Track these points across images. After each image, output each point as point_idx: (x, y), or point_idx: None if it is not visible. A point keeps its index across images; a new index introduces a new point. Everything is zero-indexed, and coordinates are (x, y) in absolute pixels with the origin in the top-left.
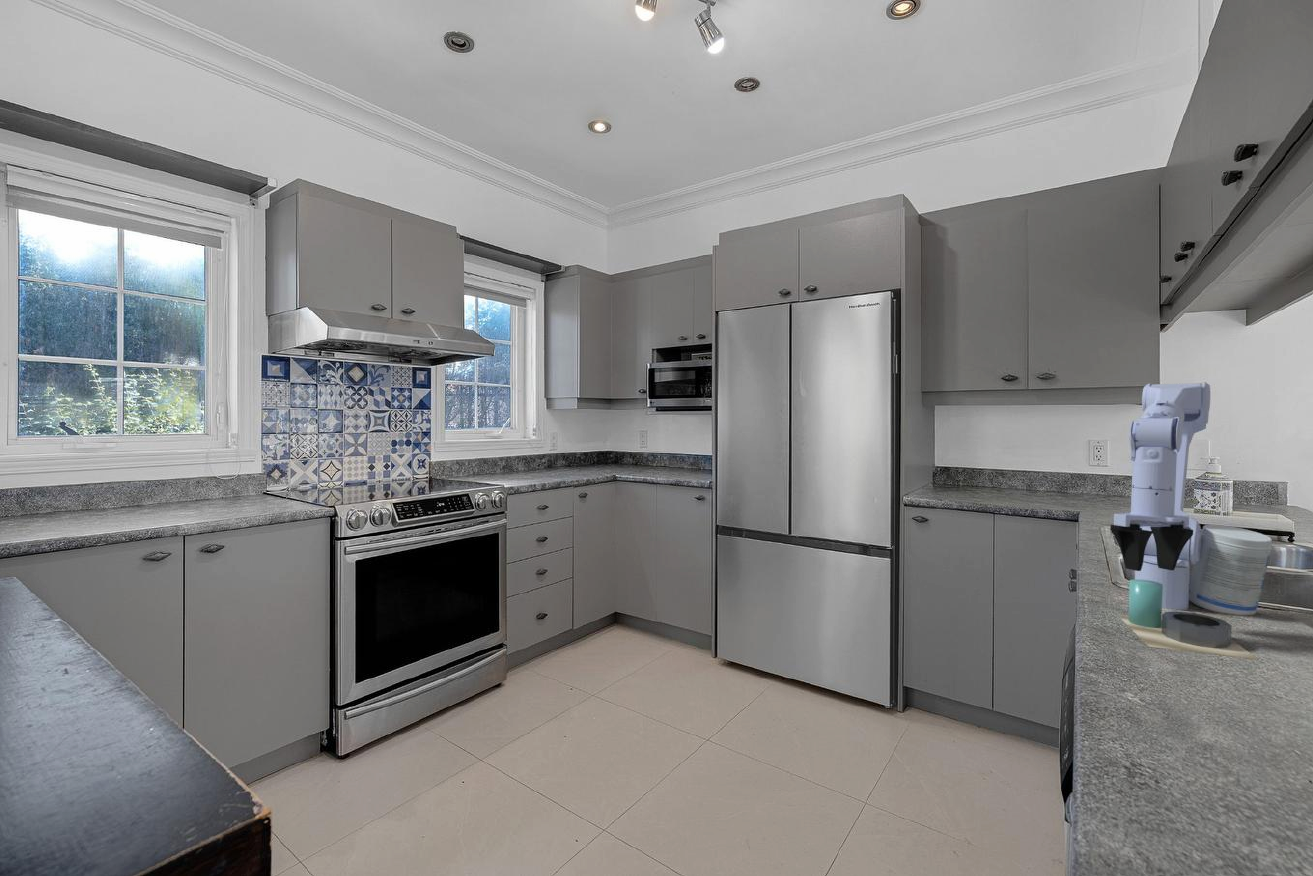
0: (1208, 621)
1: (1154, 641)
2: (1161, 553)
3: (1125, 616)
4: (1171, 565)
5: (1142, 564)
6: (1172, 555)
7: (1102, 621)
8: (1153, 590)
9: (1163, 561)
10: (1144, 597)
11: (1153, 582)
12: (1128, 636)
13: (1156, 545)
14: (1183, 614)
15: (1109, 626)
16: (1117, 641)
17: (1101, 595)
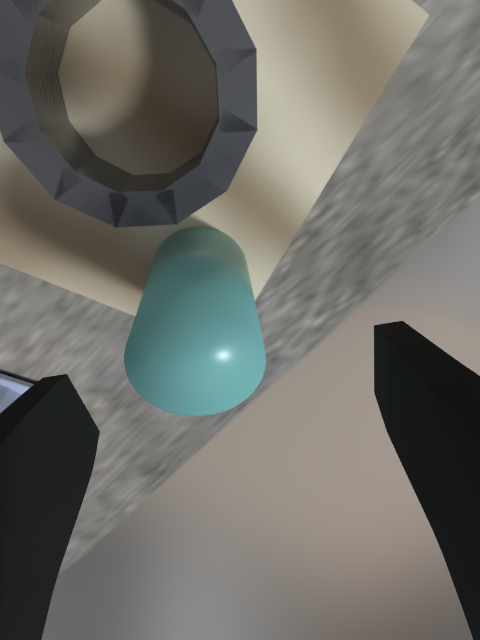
0: (42, 115)
1: (348, 74)
2: (51, 522)
3: None
4: (52, 400)
5: (393, 347)
6: (10, 468)
7: (277, 334)
8: (214, 293)
9: (71, 454)
10: (243, 291)
11: (149, 367)
12: (321, 202)
13: (44, 611)
14: (117, 189)
15: (296, 294)
16: (408, 158)
17: (96, 507)
